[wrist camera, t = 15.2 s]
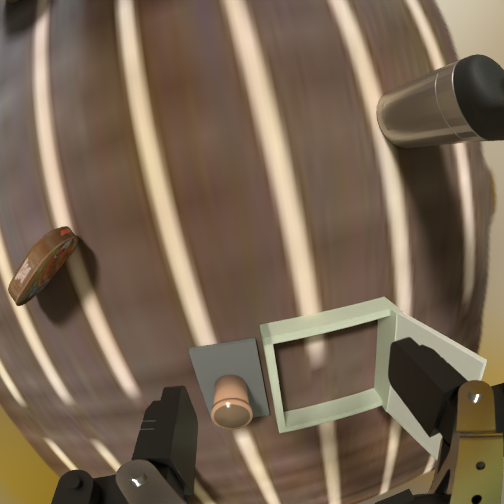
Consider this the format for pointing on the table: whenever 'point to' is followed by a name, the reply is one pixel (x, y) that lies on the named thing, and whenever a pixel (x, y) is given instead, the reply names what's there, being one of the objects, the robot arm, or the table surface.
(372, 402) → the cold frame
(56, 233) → the tin
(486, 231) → the table surface
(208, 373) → the slate mat
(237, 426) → the pot
